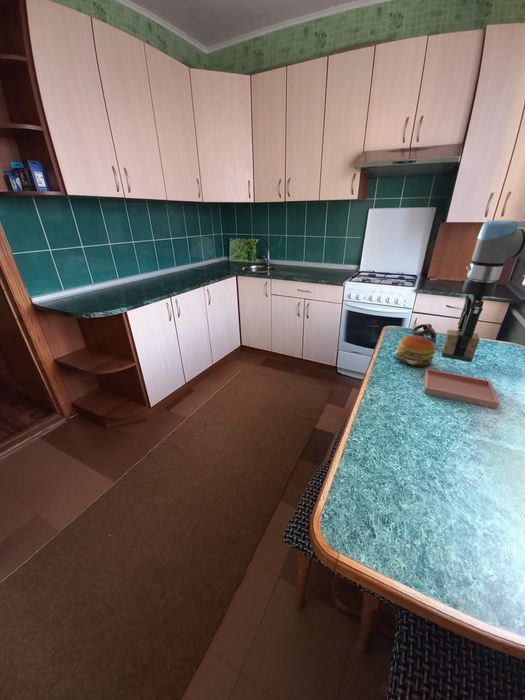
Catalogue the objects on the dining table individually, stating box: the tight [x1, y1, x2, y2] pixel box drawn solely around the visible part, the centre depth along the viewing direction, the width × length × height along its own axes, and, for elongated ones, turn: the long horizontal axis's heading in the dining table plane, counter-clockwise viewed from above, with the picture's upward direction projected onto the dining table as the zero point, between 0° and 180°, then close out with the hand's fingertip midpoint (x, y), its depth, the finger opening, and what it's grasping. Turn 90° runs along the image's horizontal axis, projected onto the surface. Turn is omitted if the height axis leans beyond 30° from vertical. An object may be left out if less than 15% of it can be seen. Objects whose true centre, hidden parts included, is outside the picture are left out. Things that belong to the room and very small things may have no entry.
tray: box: [423, 368, 500, 410], centre depth 97 cm, size 20×14×2 cm
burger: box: [394, 335, 436, 367], centre depth 113 cm, size 14×14×10 cm
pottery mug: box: [411, 323, 437, 344], centre depth 132 cm, size 12×10×8 cm
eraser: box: [441, 329, 480, 363], centre depth 92 cm, size 8×4×8 cm, turn 63°
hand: (457, 352), depth 93 cm, fingers closed on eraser, 4 cm apart
